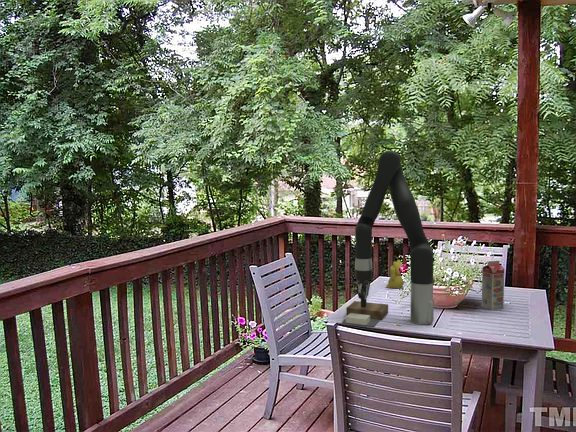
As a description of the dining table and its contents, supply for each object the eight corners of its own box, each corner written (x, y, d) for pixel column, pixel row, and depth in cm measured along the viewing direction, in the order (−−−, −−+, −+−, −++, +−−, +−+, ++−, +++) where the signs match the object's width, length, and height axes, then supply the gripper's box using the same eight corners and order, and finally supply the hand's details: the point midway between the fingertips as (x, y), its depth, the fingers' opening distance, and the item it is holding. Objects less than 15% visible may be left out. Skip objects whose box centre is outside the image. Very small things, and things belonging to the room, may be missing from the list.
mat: (379, 320, 214) (379, 319, 214) (373, 327, 206) (373, 326, 206) (348, 317, 220) (348, 315, 220) (341, 323, 211) (341, 322, 211)
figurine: (392, 284, 279) (392, 258, 277) (407, 286, 273) (407, 259, 272) (383, 288, 269) (384, 261, 268) (399, 290, 264) (399, 263, 263)
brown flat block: (388, 313, 225) (388, 304, 225) (381, 320, 214) (381, 311, 214) (354, 309, 232) (354, 301, 231) (346, 316, 221) (346, 307, 220)
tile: (366, 319, 207) (366, 325, 207) (370, 315, 212) (370, 321, 212) (345, 316, 211) (345, 322, 211) (350, 312, 216) (350, 318, 216)
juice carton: (481, 306, 233) (482, 260, 231) (493, 304, 235) (494, 259, 233) (491, 310, 227) (492, 263, 224) (503, 308, 229) (504, 261, 227)
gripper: (367, 271, 208) (367, 312, 209) (375, 265, 219) (375, 304, 221) (350, 270, 211) (350, 310, 212) (359, 264, 223) (359, 302, 224)
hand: (363, 306), depth 217 cm, fingers closed
